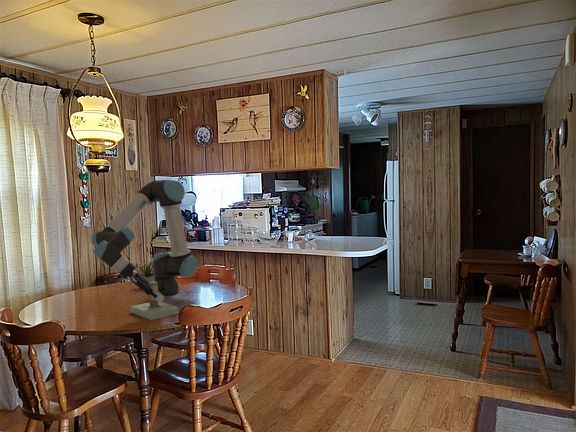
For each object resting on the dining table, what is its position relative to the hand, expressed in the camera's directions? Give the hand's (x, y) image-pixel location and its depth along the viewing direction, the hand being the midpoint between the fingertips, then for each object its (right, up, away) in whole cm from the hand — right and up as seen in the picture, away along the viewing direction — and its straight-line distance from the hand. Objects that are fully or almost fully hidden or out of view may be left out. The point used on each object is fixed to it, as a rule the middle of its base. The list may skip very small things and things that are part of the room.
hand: (162, 300), depth 210 cm
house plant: (-26, -4, +66) cm, 71 cm away
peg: (-4, -4, -1) cm, 5 cm away
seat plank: (-4, -6, -1) cm, 7 cm away
